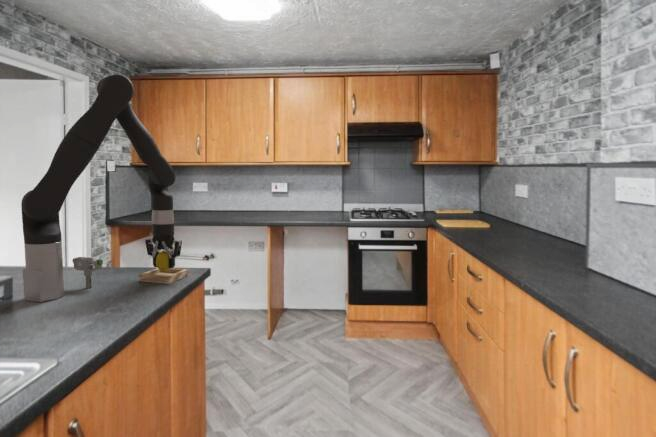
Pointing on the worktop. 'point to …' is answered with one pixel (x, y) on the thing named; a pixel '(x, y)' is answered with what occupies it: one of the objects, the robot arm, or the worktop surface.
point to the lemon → (162, 261)
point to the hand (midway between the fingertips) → (164, 267)
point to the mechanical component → (87, 267)
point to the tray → (163, 275)
